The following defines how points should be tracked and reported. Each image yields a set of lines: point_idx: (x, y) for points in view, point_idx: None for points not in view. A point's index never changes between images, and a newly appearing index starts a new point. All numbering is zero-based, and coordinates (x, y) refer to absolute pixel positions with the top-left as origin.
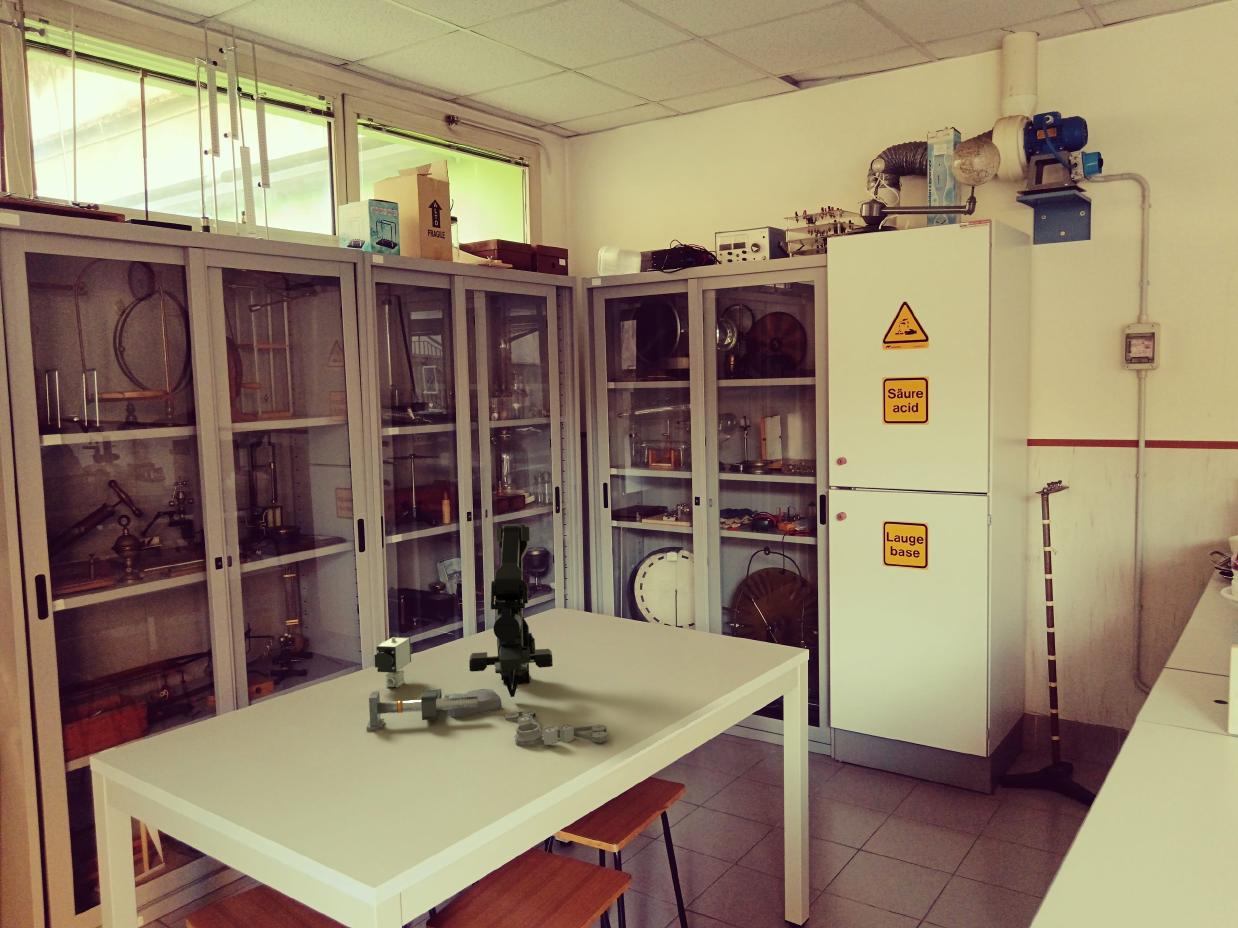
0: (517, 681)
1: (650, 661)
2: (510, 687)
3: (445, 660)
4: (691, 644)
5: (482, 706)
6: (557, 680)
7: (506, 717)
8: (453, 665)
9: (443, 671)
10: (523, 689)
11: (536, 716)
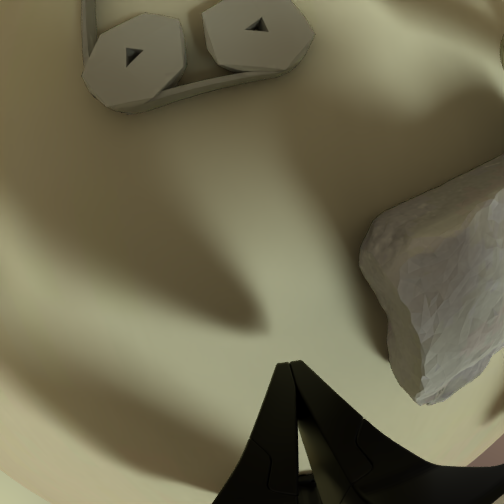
0: (252, 455)
1: (27, 470)
2: (316, 405)
3: None
4: (26, 483)
5: (472, 184)
6: (145, 480)
7: (297, 9)
8: None
9: None
10: None
11: (86, 11)
